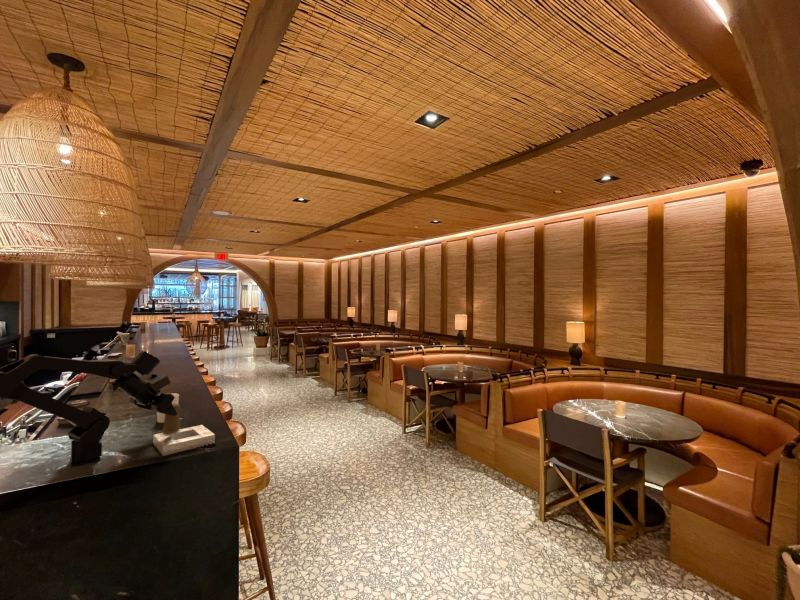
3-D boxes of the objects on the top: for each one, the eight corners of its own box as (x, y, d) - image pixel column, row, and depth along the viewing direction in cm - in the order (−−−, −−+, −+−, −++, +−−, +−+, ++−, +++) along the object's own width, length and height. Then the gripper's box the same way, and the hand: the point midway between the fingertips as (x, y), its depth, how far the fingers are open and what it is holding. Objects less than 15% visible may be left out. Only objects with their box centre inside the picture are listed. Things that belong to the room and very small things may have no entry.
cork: (178, 437, 128) (178, 406, 128) (158, 439, 126) (159, 407, 126) (183, 431, 133) (184, 401, 134) (165, 433, 132) (165, 403, 132)
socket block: (162, 455, 112) (163, 446, 112) (153, 443, 122) (153, 434, 122) (214, 443, 122) (214, 434, 122) (201, 433, 132) (202, 424, 132)
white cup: (182, 419, 148) (182, 395, 148) (161, 424, 142) (161, 399, 142) (172, 416, 152) (173, 392, 153) (151, 421, 146) (152, 396, 146)
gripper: (169, 370, 120) (200, 396, 130) (140, 365, 130) (171, 390, 139) (142, 398, 113) (177, 424, 123) (113, 391, 123) (148, 416, 132)
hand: (168, 412), depth 129 cm, fingers open, 9 cm apart
